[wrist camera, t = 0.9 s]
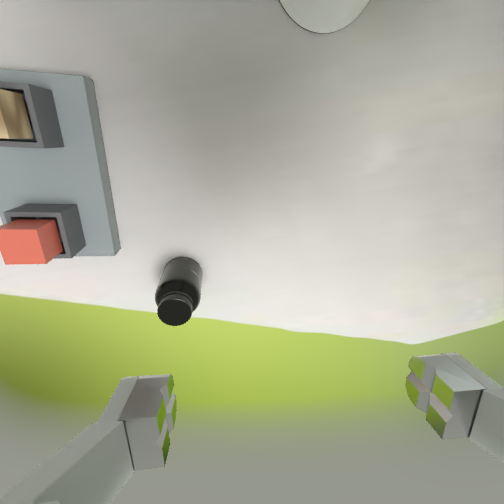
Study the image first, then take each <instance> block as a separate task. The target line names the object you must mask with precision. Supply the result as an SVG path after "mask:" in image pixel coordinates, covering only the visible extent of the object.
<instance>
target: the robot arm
mask: <svg viewBox="0 0 504 504" xmlns="http://www.w3.org/2000/svg"><path fill="white" fill-rule="evenodd" d="M369 1H370V0H280V2H281V4H282V6H283V7H284V9H285V10H286V12H287V13H288V15H289V16H290V17H291V18H292V19H293V20H294V21H295V22H296V23H297V24H299V25H300V26H301V27H303V28H305V29H307V30H309V31H312V32H316V33H330V32H335V31H337V30H340V29H342V28H344V27H346V26H347V25H349V24H350V23H351V22H352V21H353V20H355V19H356V18H357V17H358V15H359V14H360V13H361V12H362V11H363V9H364V8H365V6H366V5H367V3H368V2H369ZM409 368H410V369H411V371H412V372H411V373H410V374H409V375H408V376H407V377H406V390H407V394H408V396H409V398H410V400H411V401H412V403H413V404H414V405H415V406H416V408H418V409H420V410H421V411H423V412H425V413H426V420H427V421H428V423H429V424H430V425H431V426H432V427H433V429H434V430H435V431H436V432H437V434H438V435H439V436H440V438H441V439H458V438H469V440H471V441H472V442H474V443H475V444H476V445H478V446H479V447H481V448H482V449H484V450H485V451H486V452H488V453H489V454H491V455H492V456H494V457H495V458H496V459H498V460H499V461H501V462H502V463H504V388H503V387H502V386H500V385H499V384H498V383H497V382H495V381H494V380H493V379H491V378H490V377H489V376H487V375H486V374H484V372H482V371H481V370H480V369H478V368H477V367H476V366H474V365H473V364H472V363H470V362H469V361H468V360H467V359H465V358H464V357H463V356H461V355H460V354H457V353H446V354H440V355H426V356H414V357H412V358H411V359H410V361H409ZM173 386H174V381H173V376H172V375H171V374H169V375H149V376H135V377H124V378H123V379H121V380H120V382H119V384H118V386H117V387H116V389H115V391H114V393H113V395H112V397H111V398H110V400H109V402H108V404H107V406H106V408H105V409H104V411H103V413H102V415H101V417H100V419H99V420H98V422H97V423H92V424H90V425H89V426H88V427H87V428H85V429H84V430H83V431H82V432H80V433H79V434H78V435H77V436H75V437H74V438H73V439H71V440H70V441H69V442H68V443H66V444H65V445H64V446H63V447H61V448H60V449H59V450H58V451H56V452H55V453H54V454H53V455H51V456H50V457H49V458H48V459H46V460H45V461H44V462H42V463H41V464H40V465H39V466H37V467H36V468H35V469H34V470H32V471H31V472H30V473H29V474H27V475H26V476H25V477H24V478H22V479H21V480H20V481H19V482H17V483H16V484H15V485H14V486H12V487H11V488H10V489H8V490H7V491H6V492H5V493H3V494H2V495H1V496H0V504H110V503H111V502H112V500H113V499H114V498H115V496H116V495H117V494H118V493H119V491H120V490H121V488H123V486H124V485H125V483H126V482H127V481H128V480H129V479H130V477H131V476H132V475H133V473H134V471H135V470H143V469H150V468H157V467H165V464H166V459H167V455H168V451H169V446H170V438H169V433H170V432H171V431H172V430H173V429H174V424H175V419H176V395H175V394H174V393H172V390H173Z"/></svg>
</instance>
